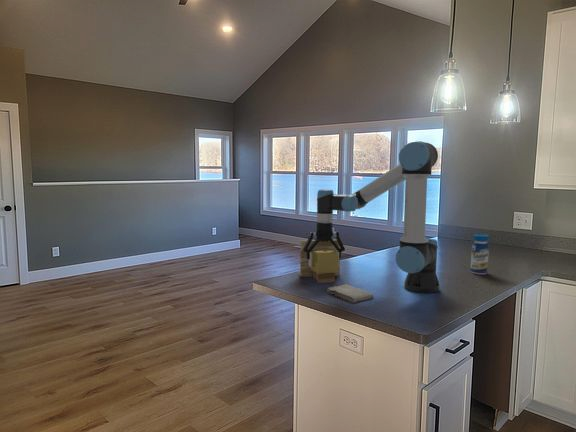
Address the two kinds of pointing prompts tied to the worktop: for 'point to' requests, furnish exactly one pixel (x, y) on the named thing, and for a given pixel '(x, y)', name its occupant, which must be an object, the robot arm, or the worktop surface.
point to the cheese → (324, 261)
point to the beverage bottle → (479, 254)
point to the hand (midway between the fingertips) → (323, 265)
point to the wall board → (304, 262)
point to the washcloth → (350, 293)
